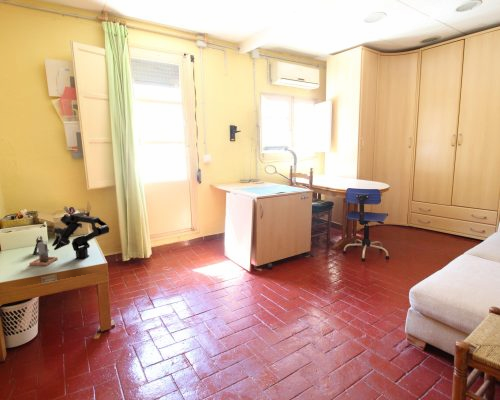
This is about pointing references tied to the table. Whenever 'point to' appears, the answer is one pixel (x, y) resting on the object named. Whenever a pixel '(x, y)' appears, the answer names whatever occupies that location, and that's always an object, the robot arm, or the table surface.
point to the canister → (43, 252)
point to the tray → (37, 263)
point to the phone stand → (37, 246)
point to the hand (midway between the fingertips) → (53, 247)
